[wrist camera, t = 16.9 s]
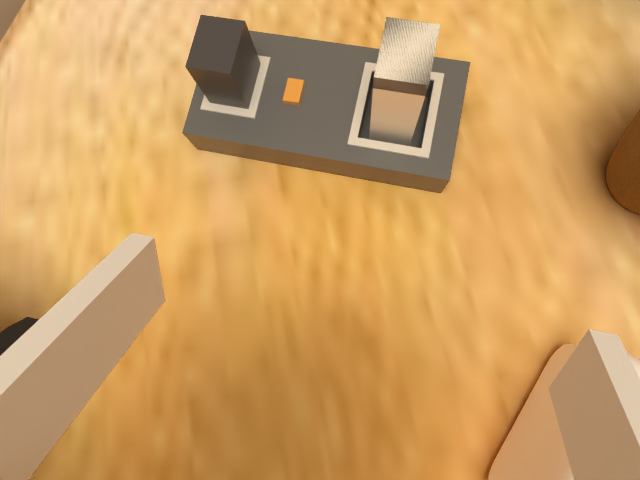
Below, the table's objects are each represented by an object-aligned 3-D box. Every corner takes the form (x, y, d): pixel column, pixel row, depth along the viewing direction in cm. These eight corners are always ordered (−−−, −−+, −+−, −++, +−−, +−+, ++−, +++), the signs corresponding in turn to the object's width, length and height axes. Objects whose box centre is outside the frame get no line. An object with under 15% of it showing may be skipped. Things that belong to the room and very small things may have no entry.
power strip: (197, 149, 45) (151, 100, 35) (225, 50, 47) (189, -23, 37) (440, 193, 41) (467, 153, 31) (459, 85, 43) (491, 15, 33)
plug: (368, 144, 42) (373, 77, 30) (378, 99, 43) (386, 17, 31) (408, 150, 42) (428, 85, 30) (416, 105, 42) (440, 24, 31)
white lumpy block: (557, 332, 38) (642, 339, 27) (669, 398, 36) (812, 435, 25) (477, 478, 37) (532, 551, 25) (591, 554, 35) (705, 670, 23)
